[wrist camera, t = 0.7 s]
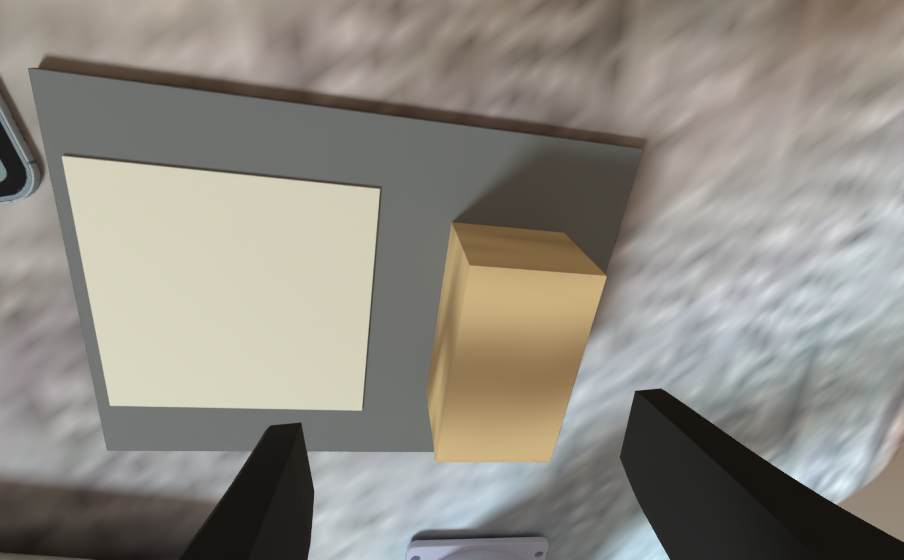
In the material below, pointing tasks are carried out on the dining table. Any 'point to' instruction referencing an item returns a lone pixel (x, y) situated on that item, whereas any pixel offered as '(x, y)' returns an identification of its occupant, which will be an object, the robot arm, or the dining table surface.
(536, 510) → the dining table surface
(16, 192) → the smartphone
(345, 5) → the dining table surface
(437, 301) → the mat
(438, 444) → the pine block
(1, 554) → the salad plate
